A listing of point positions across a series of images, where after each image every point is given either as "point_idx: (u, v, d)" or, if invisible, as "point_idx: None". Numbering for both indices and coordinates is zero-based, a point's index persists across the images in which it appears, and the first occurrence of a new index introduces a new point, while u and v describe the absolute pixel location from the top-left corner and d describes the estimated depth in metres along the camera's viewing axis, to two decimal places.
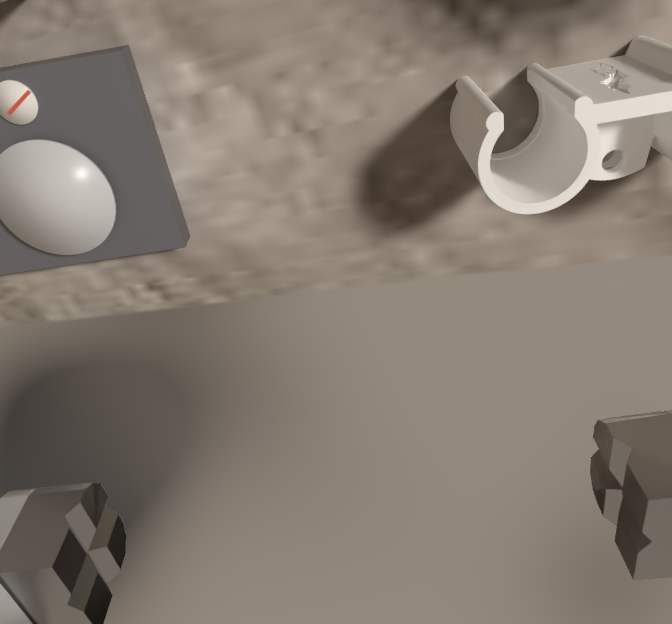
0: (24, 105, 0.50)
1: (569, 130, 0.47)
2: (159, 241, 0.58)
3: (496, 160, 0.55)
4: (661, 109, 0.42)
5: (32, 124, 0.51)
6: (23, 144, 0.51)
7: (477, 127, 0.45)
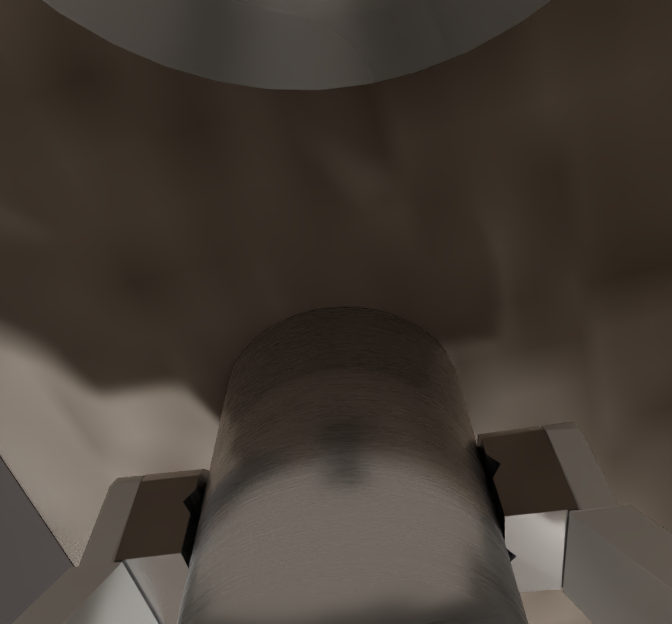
0: None
1: None
2: None
3: None
4: None
5: None
6: None
7: None
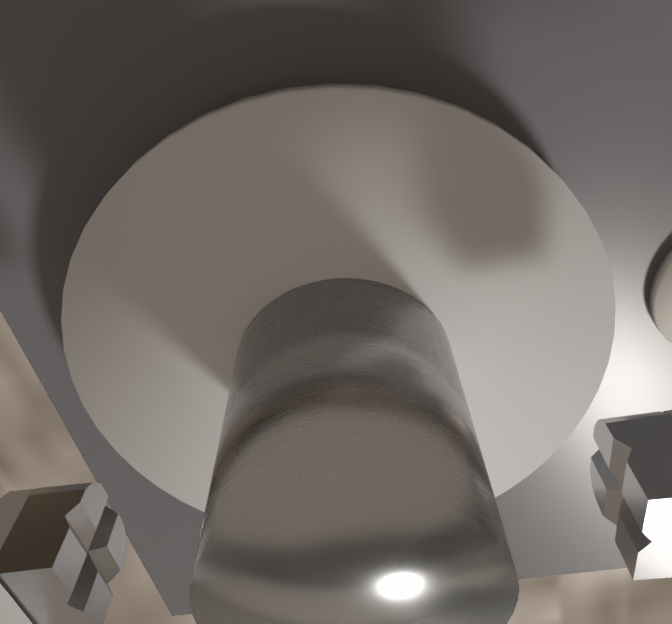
0: None
1: None
2: (180, 569, 0.18)
3: None
4: None
5: (639, 313, 0.13)
6: (606, 320, 0.12)
7: None
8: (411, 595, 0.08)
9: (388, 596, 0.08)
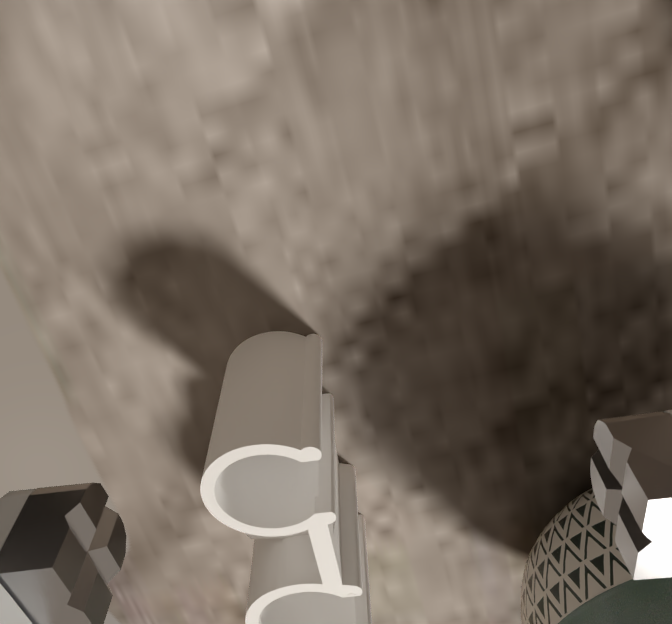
0: None
1: (286, 479, 0.44)
2: None
3: None
4: (321, 568, 0.43)
5: None
6: None
7: (293, 418, 0.39)
8: None
9: None
